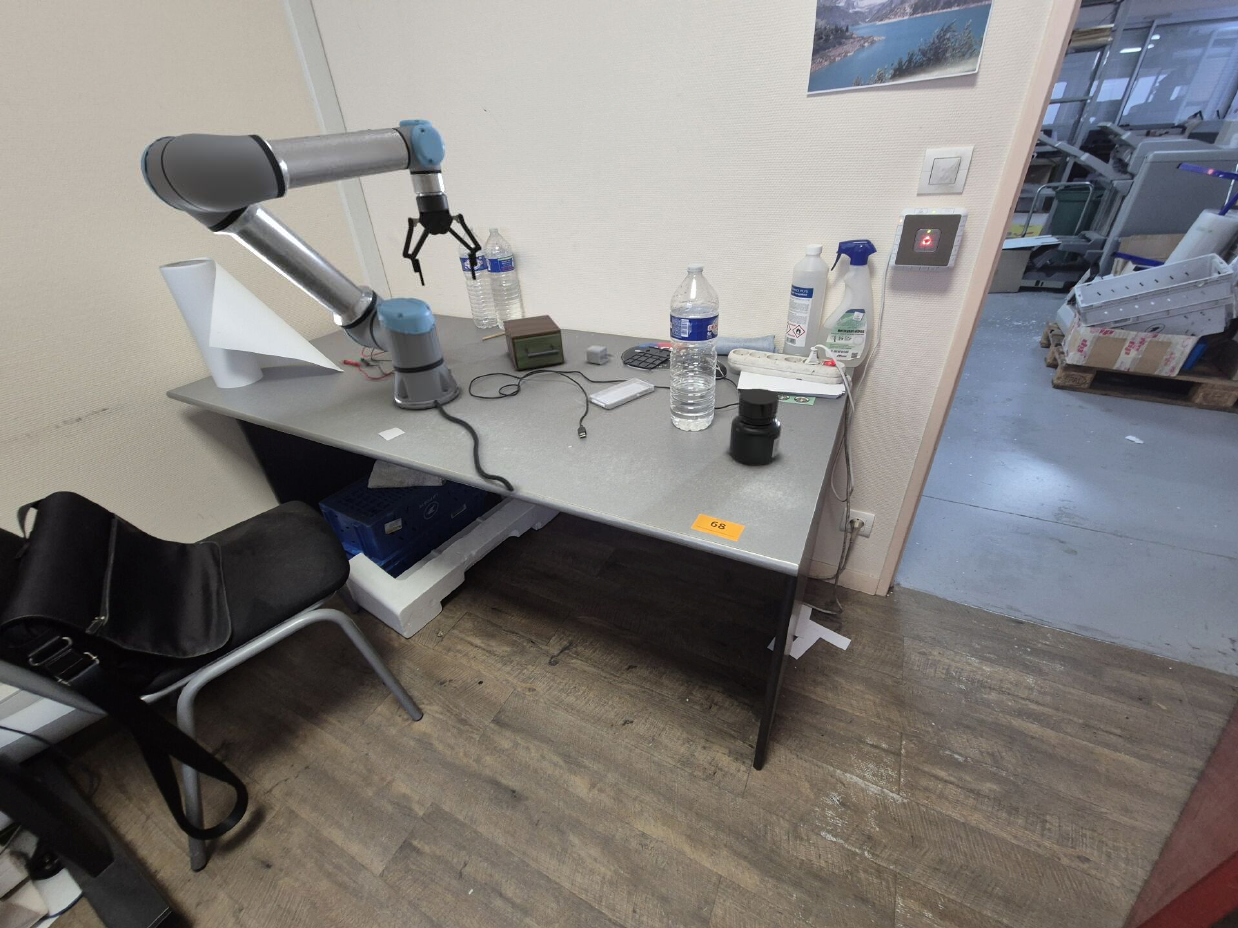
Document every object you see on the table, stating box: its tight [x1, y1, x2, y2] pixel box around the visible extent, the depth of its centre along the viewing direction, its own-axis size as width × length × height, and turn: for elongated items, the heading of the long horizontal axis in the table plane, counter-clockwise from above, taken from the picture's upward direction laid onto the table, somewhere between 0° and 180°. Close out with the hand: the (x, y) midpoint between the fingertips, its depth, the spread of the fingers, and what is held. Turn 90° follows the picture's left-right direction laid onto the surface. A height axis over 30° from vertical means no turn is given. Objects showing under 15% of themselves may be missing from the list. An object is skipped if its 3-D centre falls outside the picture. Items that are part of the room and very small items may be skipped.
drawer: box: [514, 333, 563, 369], centre depth 141 cm, size 22×12×8 cm, turn 19°
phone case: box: [588, 377, 655, 410], centre depth 121 cm, size 7×1×15 cm
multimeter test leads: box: [339, 346, 395, 380], centre depth 149 cm, size 23×4×25 cm
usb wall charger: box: [585, 345, 613, 365], centre depth 140 cm, size 4×7×4 cm, turn 60°
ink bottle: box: [729, 388, 782, 466], centre depth 92 cm, size 10×9×12 cm
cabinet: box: [502, 314, 565, 372], centre depth 145 cm, size 17×14×10 cm
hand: (449, 282), depth 137 cm, fingers open, 13 cm apart
